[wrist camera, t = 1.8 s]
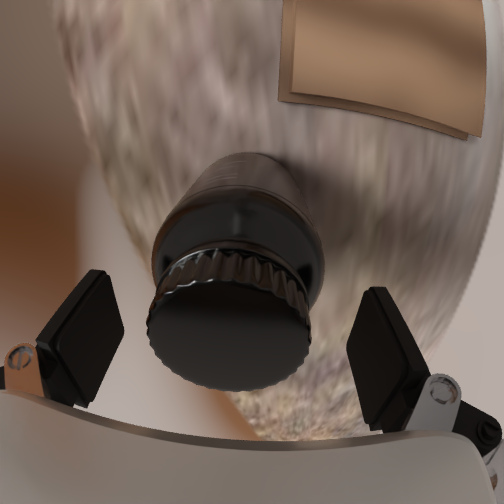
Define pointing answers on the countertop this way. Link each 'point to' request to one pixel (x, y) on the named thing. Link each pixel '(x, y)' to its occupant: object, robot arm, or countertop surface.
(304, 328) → the supplement bottle
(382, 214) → the countertop surface
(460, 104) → the walnut pedestal
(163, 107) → the countertop surface
